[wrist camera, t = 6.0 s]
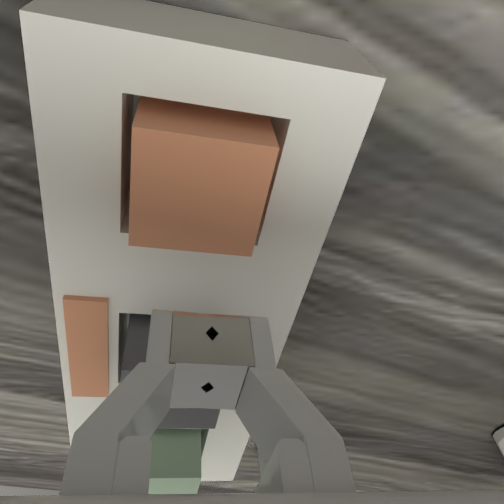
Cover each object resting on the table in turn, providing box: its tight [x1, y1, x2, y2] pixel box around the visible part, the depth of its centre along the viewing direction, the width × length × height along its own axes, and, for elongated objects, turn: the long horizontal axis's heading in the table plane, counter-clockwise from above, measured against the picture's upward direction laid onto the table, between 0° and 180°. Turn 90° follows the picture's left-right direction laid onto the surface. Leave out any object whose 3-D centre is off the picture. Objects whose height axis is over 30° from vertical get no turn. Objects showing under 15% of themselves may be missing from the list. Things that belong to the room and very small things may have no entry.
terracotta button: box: [128, 96, 279, 257], centre depth 18 cm, size 5×5×5 cm
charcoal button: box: [121, 313, 220, 429], centre depth 24 cm, size 5×5×5 cm
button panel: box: [19, 0, 386, 481], centre depth 26 cm, size 12×32×5 cm, turn 168°
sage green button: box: [148, 428, 201, 494], centre depth 30 cm, size 5×5×5 cm
